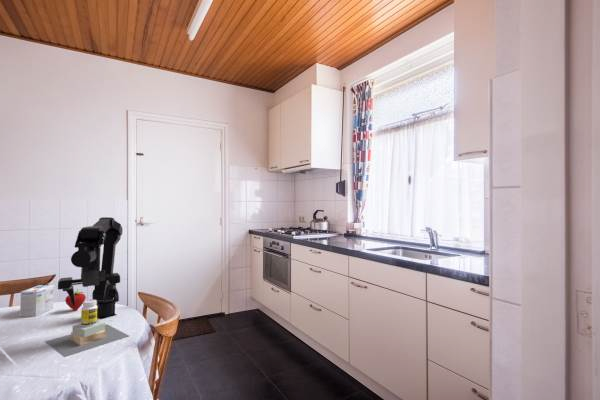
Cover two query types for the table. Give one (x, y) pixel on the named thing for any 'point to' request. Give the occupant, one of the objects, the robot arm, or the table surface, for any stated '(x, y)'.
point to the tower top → (88, 329)
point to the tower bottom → (88, 338)
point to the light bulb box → (36, 300)
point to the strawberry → (76, 300)
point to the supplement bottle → (89, 313)
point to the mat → (70, 347)
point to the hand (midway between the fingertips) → (89, 304)
